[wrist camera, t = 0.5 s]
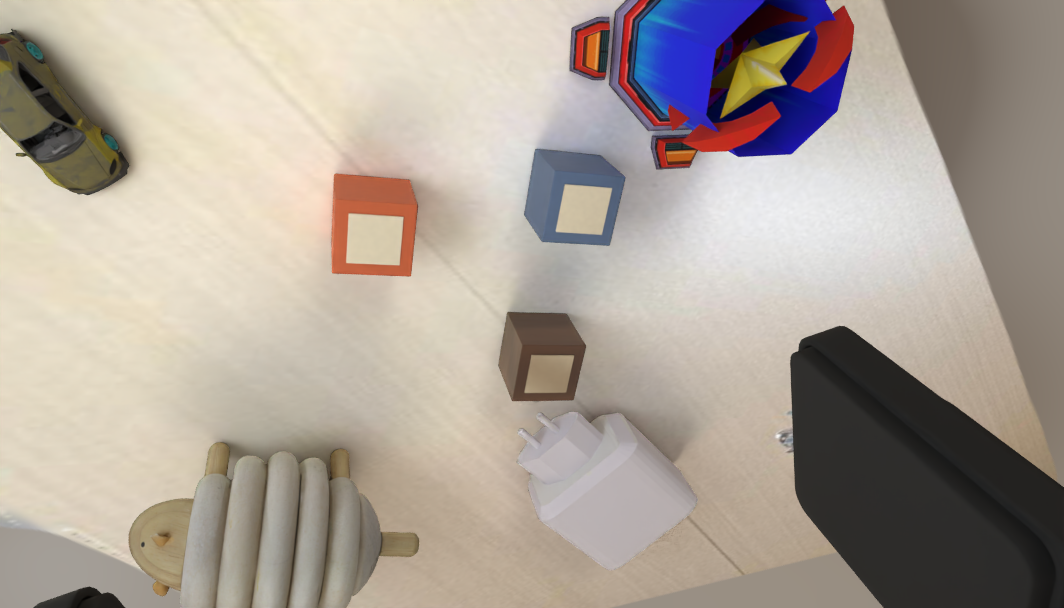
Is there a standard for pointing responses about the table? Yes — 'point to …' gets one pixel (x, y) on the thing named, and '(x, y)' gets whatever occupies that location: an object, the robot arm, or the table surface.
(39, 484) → the table surface
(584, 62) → the fantasy tower
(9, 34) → the race car
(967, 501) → the robot arm
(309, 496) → the toy sheep
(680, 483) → the charger
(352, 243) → the terracotta block
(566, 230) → the slate block
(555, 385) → the walnut block
